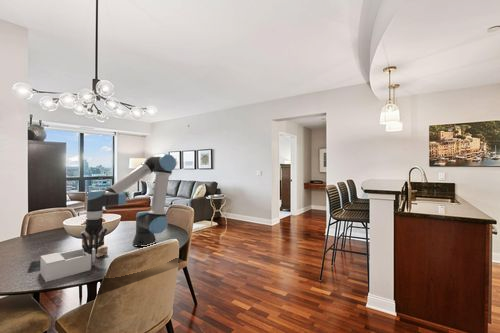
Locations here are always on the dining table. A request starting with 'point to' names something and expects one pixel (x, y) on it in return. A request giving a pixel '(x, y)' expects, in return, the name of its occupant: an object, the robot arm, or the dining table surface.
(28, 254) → the dining table surface
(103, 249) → the oak block
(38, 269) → the smartphone
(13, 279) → the dining table surface
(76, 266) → the white drawer housing
